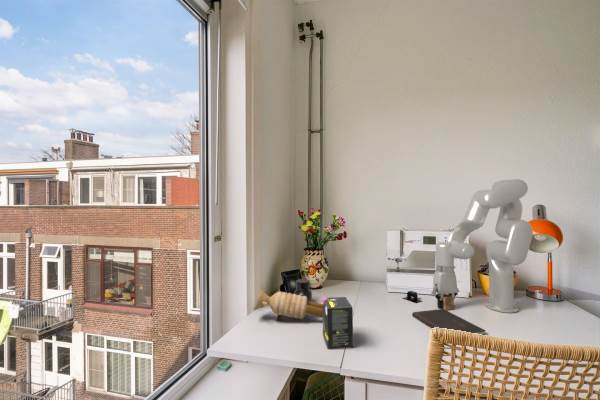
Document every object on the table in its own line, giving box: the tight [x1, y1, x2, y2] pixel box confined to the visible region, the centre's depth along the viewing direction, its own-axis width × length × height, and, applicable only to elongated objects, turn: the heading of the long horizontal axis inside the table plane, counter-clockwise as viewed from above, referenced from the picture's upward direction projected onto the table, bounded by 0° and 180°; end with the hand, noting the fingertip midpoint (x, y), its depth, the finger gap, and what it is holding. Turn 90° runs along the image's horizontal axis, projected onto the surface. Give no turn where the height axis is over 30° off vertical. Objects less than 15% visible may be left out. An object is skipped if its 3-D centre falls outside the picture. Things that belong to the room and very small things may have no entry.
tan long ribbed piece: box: [256, 289, 323, 322], centre depth 127 cm, size 10×12×30 cm
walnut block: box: [436, 294, 455, 312], centre depth 139 cm, size 5×5×6 cm
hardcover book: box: [411, 308, 486, 335], centre depth 121 cm, size 16×23×2 cm
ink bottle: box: [293, 278, 313, 302], centre depth 146 cm, size 10×9×12 cm
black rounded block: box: [401, 290, 424, 304], centre depth 152 cm, size 12×7×5 cm, turn 30°
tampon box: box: [322, 296, 354, 350], centre depth 108 cm, size 11×9×15 cm
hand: (445, 307), depth 139 cm, fingers closed on walnut block, 5 cm apart
